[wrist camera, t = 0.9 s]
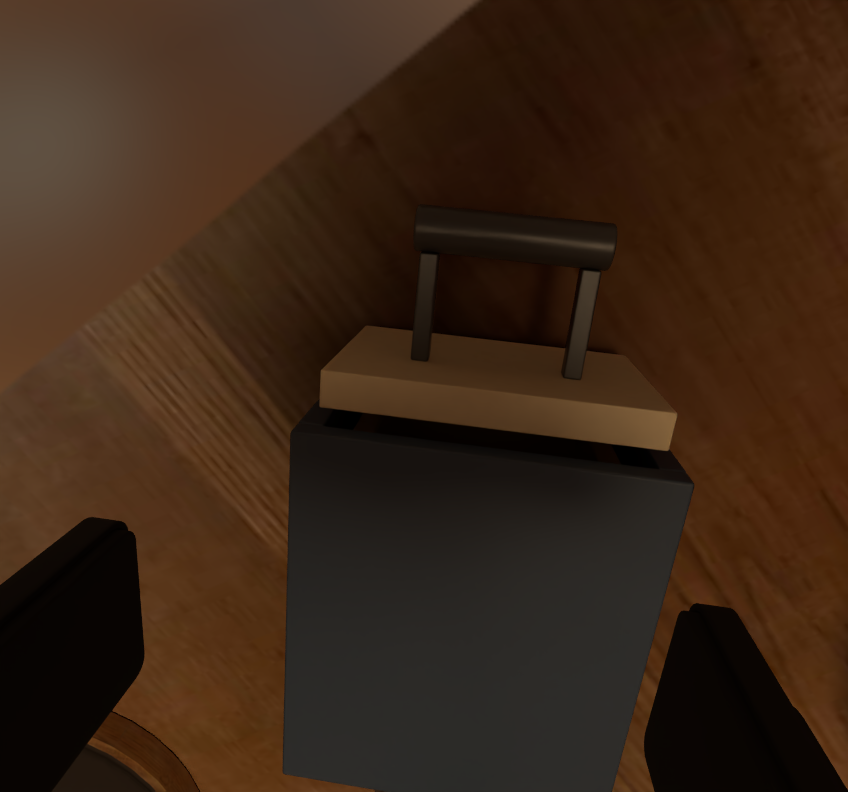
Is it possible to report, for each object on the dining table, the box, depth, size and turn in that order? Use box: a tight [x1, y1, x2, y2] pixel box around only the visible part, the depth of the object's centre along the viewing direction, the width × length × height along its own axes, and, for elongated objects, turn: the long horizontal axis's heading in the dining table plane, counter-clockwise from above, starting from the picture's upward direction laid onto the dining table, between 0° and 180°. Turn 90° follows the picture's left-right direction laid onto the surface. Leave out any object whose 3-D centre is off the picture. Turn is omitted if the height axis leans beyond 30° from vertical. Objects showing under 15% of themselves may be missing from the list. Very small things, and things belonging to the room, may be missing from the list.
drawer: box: [319, 204, 677, 464], centre depth 21 cm, size 17×10×7 cm, turn 175°
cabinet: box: [283, 399, 694, 792], centre depth 23 cm, size 14×12×9 cm
